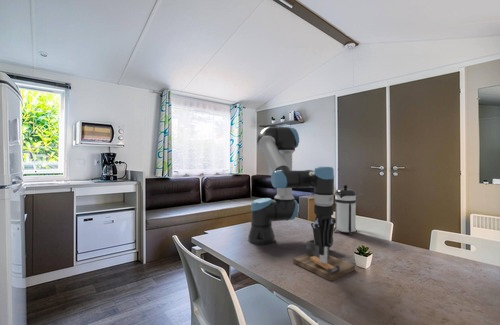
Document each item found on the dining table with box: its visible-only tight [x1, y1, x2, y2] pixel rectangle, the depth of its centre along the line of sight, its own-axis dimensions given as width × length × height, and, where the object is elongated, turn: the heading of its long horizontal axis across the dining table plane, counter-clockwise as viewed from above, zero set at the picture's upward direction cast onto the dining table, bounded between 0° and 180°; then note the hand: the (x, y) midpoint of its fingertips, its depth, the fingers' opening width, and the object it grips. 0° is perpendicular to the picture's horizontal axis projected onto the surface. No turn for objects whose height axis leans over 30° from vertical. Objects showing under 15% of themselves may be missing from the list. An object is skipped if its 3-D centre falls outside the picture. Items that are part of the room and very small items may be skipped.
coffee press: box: [333, 184, 358, 236], centre depth 154 cm, size 17×16×30 cm
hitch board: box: [292, 239, 356, 282], centre depth 104 cm, size 20×16×8 cm
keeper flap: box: [310, 256, 338, 273], centre depth 98 cm, size 11×4×1 cm, turn 35°
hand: (323, 262), depth 98 cm, fingers closed
